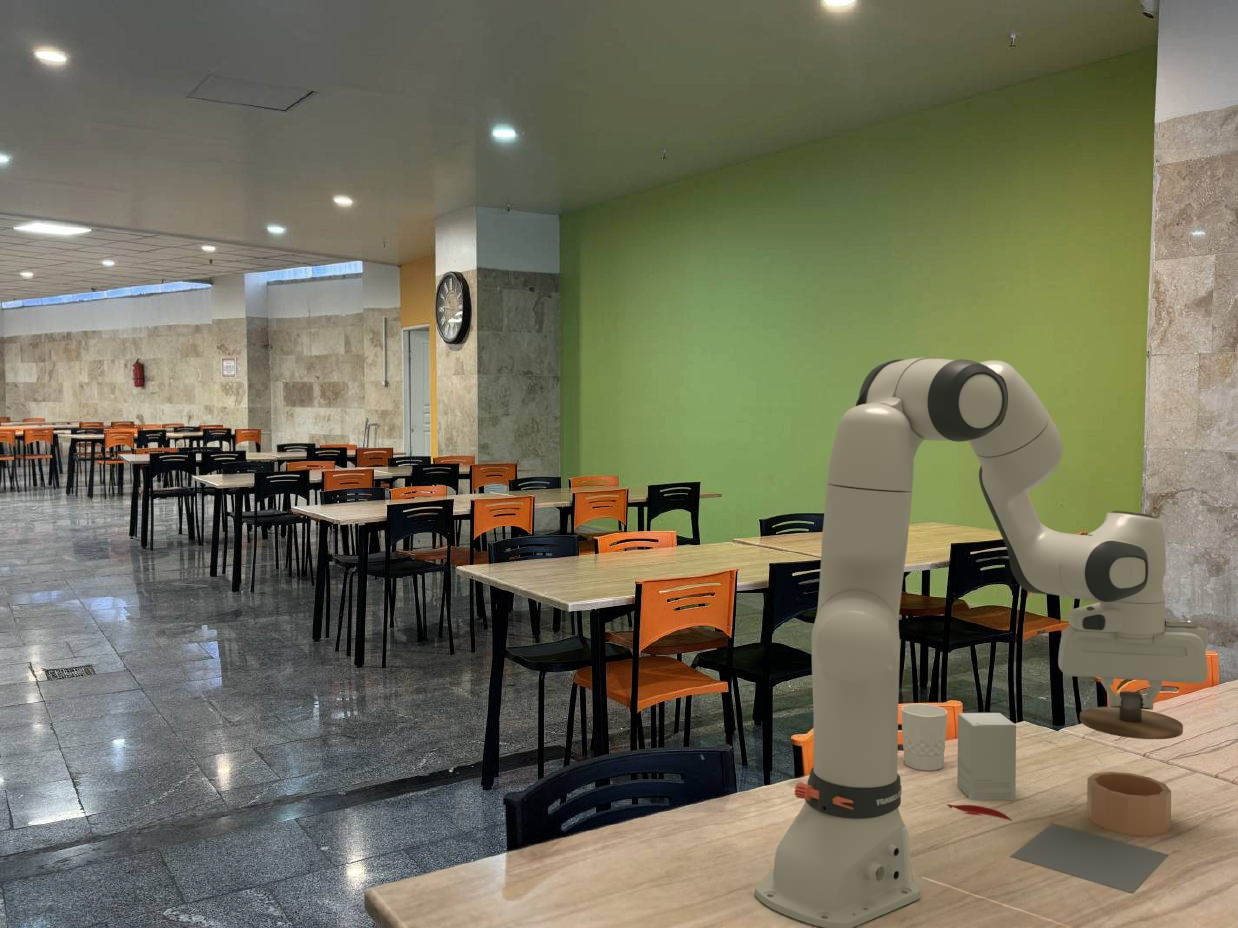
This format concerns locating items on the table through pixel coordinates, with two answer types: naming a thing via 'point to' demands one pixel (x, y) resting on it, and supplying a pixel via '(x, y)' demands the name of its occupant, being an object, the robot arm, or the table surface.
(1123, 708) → the lid
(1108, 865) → the mat
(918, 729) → the white cup
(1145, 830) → the bowl
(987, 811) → the red feather
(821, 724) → the robot arm
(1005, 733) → the supplement box
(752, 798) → the table surface
